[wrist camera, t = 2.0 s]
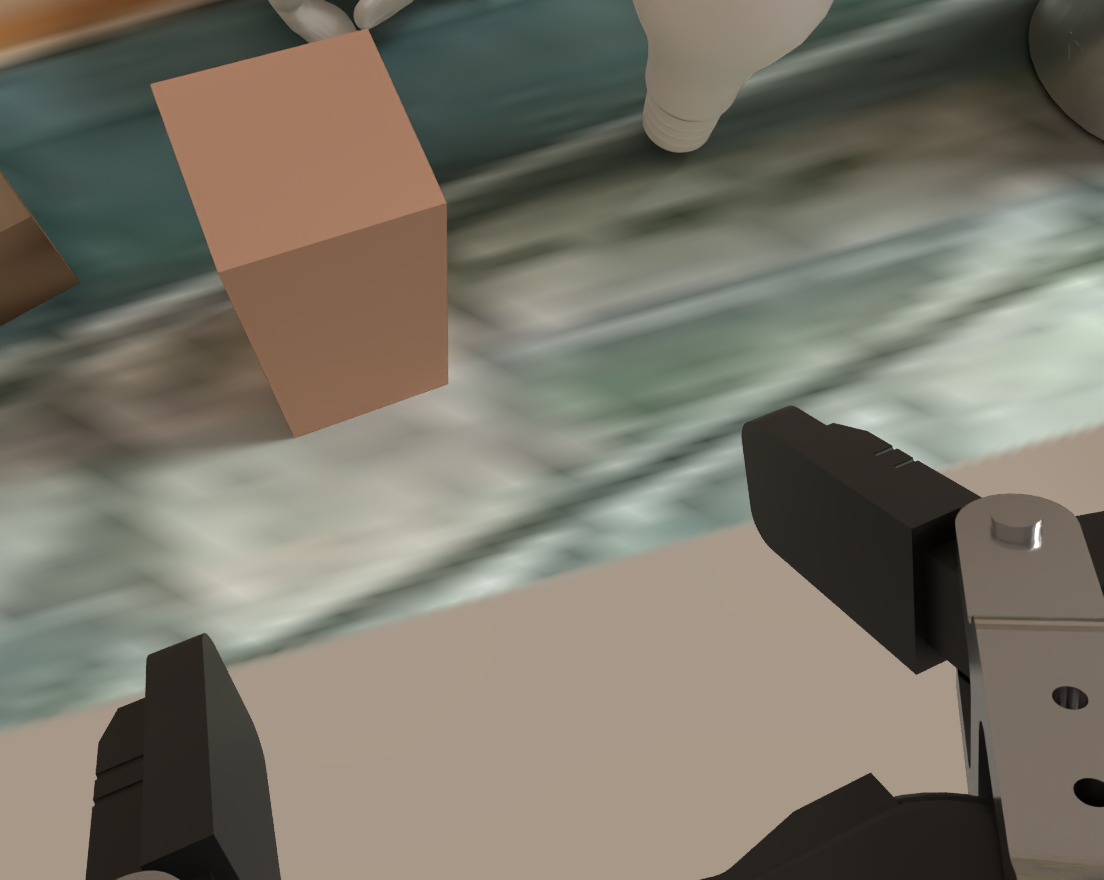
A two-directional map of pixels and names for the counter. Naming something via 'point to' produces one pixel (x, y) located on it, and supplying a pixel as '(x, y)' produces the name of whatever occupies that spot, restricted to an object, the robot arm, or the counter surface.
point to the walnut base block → (26, 259)
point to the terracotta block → (319, 223)
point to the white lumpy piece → (333, 16)
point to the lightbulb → (712, 58)
